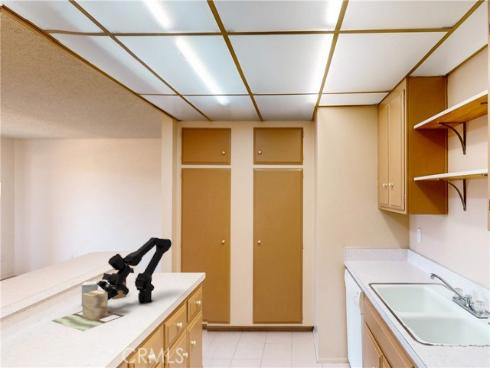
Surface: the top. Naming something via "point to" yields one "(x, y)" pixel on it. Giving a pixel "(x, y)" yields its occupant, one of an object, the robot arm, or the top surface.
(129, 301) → the top surface
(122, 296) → the small box
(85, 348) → the top surface
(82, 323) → the lane board
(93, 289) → the supplement box
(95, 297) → the birch block
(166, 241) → the robot arm
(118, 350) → the top surface
